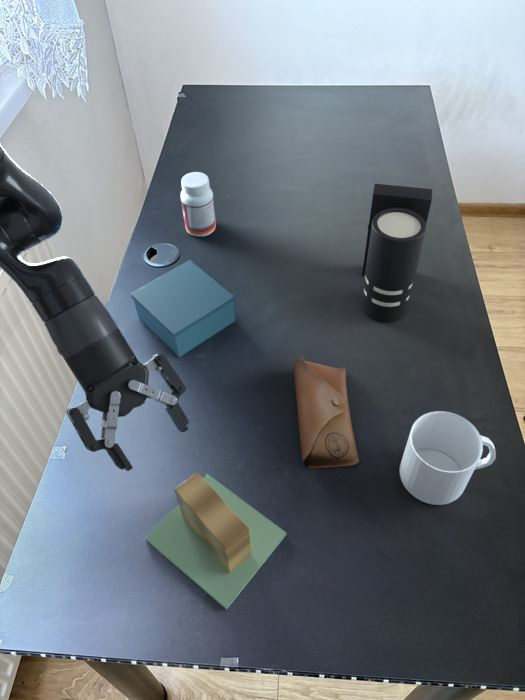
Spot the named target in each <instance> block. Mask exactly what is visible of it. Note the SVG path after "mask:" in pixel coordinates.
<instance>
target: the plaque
mask: <svg viewBox="0 0 525 700" xmlns="http://www.w3.org/2000/svg"><path fill="white" fill-rule="evenodd" d="M203 477H204V476H202V475H201V474H200V473H199V471H197V472H195V473H194V474H192V475H190V477H188V478H187V479H186V480H184V481H183V482H182V483H180V484H179V485H178V486H177V487H175V488H174V493H175V495H176V499H177V503H178V504H179V506H180V509H181V513H182V516H183V518H184V519H185V520H186V521H187V523H188V524H189V525H190V526H191V527H192V529H193V530H194V531H195V532H196V533H197V535H198V536H199V537H200V538H201V539H202V540H203V542H204V543H205V544H206V545H207V546H208V548H209V549H210V550H211V551H212V552H213V554H214V555H215V556H216V557H217V558H218V559H219V561H220V562H221V563H222V564H223V565H224V567H225V568H226V569H227V570H228V571H229V573H231V572H232V571H233V570H234V569H235V568H236V567H238V566H239V565H240V564H241V563H242V562H243V561H244V560H246V559H247V558H248V557H249V556H250V555H251V544H250V535H249V528H248V527H247V526H246V525H245V524H244V522H243V521H242V520H241V519H240V518H239V517H238V516H237V515H236V514H235V513H234V511H233V510H232V509H231V508H230V507H229V506H228V505H227V504H226V503H225V502H224V500H223V499H222V498H221V497H220V496H219V495H218V494H217V493H216V492H215V491H214V489H213V488H212V487H211V486H210V485H209V484H208V483H207V482H206V481H205V480H204V478H203Z"/></svg>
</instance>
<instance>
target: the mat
mask: <svg viewBox="0 0 525 700" xmlns="http://www.w3.org/2000/svg"><path fill="white" fill-rule="evenodd" d="M202 477H203V478H204V480H205V481H206V482H207V483H208V484H209V485H210V486H211V487H212V488H213V489H214V491H215V492H216V493H217V494H218V495H219V496H220V497H221V498H222V499H223V500H224V502H225V503H226V504H227V505H228V506H229V507H230V508H231V509H232V510H233V511H234V513H235V514H236V515H237V516H238V517H239V518H240V519H241V520H242V521H243V522H244V524H245V525H246V526H247V527H248V528H249V535H250V544H251V555H250V556H249V557H248V558H247V559H246V560H244V561H243V562H242V563H241V564H240V565H239V566H238V567H236V568H235V569H234V570H233V571H232V572H231V573H229V571H228V570H227V569H226V568H225V567H224V565H223V564H222V563H221V562H220V561H219V559H218V558H217V557H216V556H215V555H214V554H213V552H212V551H211V550H210V549H209V548H208V546H207V545H206V544H205V543H204V542H203V540H202V539H201V538H200V537H199V536H198V535H197V533H196V532H195V531H194V530H193V529H192V527H191V526H190V525H189V524H188V523H187V521H186V520H185V519H184V518H183V516H182V513H181V509H180V506H179V503H178V504H177V505H176V506H175V507H174V508H172V510H171V511H170V512H169V513H168V514H167V515H166V516H165V517H164V518H163V519H162V520H161V521H160V523H158V525H157V526H156V527H154V529H153V530H152V531H151V532H150V533H149V534H148V535H147V536H146V537H145V541H146V542H147V543H148V544H149V545H150V546H152V547H153V548H154V549H155V550H156V551H157V552H159V553H160V554H161V555H162V556H163V557H164V558H165V559H167V560H168V562H170V563H171V564H172V565H173V566H175V567H176V568H177V569H178V570H179V571H181V572H182V573H183V575H185V576H186V577H187V578H189V579H190V580H191V581H192V582H193V583H195V584H196V585H197V586H198V587H199V588H200V589H201V590H203V591H204V592H205V593H206V594H207V595H208V596H209V597H211V598H212V599H213V600H214V601H215V602H217V603H218V604H219V605H220V606H221V607H223V608H224V609H225V610H228V609H229V608H230V606H231V605H232V604H233V602H234V601H236V599H237V598H238V596H239V595H240V594H241V593H242V591H243V590H244V589H245V588H246V586H247V585H248V584H249V582H251V580H252V579H253V578H254V576H255V575H256V574H257V573H258V571H260V569H261V568H262V566H264V564H265V563H266V561H267V560H268V559H269V558H270V556H271V555H272V554H273V553H274V552H275V550H276V549H277V547H278V546H279V545H280V544H281V542H282V541H283V540H284V539H285V537H286V536H287V534H288V533H287V532H286V531H285V530H283V529H282V528H281V527H280V526H278V525H277V524H275V523H274V522H273V521H271V519H268V517H266V516H265V515H263V514H262V513H261V512H259V511H258V510H257V509H255V508H254V507H253V506H251V505H250V504H249V503H247V502H246V501H244V500H243V499H242V498H241V497H239V496H238V495H237V494H235V493H234V492H233V491H231V490H230V489H229V488H227V487H226V486H225V485H223V484H222V483H220V482H219V481H217V480H216V479H215V478H214V477H213V476H211V475H210V474H209V473H206V474H205V475H204V476H202Z"/></svg>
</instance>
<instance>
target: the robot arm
mask: <svg viewBox="0 0 525 700" xmlns="http://www.w3.org/2000/svg"><path fill="white" fill-rule="evenodd" d="M55 197H56V196H54V195H53V194H52V192H50V191H49V190H48V188H46V187H45V186H44V185H43V184H42V183H40V182H39V181H38V180H36V179H35V178H34V177H33V176H31V175H30V174H29V173H27V172H26V171H25V170H23V169H22V168H21V167H20V166H19V165H18V164H17V163H16V162H15V161H14V160H13V159H12V158H11V157H10V156H9V154H8V153H7V151H6V150H5V149H4V148H3V146H2V145H1V144H0V269H1V270H2V271H4V272H5V273H6V274H7V276H9V278H11V279H12V281H13V282H14V283H15V284H16V285H17V286H18V287H19V288H20V290H21V291H22V293H23V294H24V295H25V296H26V298H27V299H28V301H29V302H30V304H31V305H32V306H33V309H34V311H36V313H37V315H38V317H39V318H40V319H41V321H42V323H43V324H44V326H45V328H46V331H47V332H48V334H49V337H50V339H51V341H52V342H53V344H54V346H55V347H56V350H57V352H58V354H59V355H60V356H61V357H62V359H63V360H64V361H65V363H66V365H67V366H68V368H69V369H70V371H71V373H72V374H73V375H74V377H75V379H76V380H77V382H78V384H79V385H80V388H82V391H83V392H84V393H85V400H84V401H83V402H81V403H79V404H77V405H75V406H70V407H67V409H66V415H67V417H68V419H69V421H70V423H71V424H72V426H73V428H74V429H75V431H76V434H77V435H78V436H79V438H80V440H81V443H82V444H83V446H84V447H85V449H86V450H88V451H89V452H92V453H95V452H98V451H101V450H105V451H106V453H107V454H108V456H109V458H110V459H111V461H112V462H113V464H114V465H115V466H116V467H117V468H118V469H119V470H121V471H122V470H125V471H127V472H130V471H131V470H133V468H134V466H133V465H132V464H131V462H130V460H129V459H128V457H127V456H126V454H125V452H124V451H123V449H122V448H121V446H120V445H119V443H116V433H117V432H116V431H117V428H118V423H119V418H121V417H122V418H123V417H126V416H128V415H129V414H130V413H131V412H132V411H133V410H134V409H135V408H138V407H141V406H143V405H144V404H145V403H146V401H147V399H149V400H152V401H155V402H159V403H161V404H163V405H165V408H164V409H165V411H166V412H167V414H168V416H169V417H170V419H171V420H172V422H173V423H174V425H175V427H176V429H177V430H178V431H179V432H180V433H185V432H187V431H188V430H189V427H188V425H189V418H188V417H187V416H186V413H185V412H184V410H183V409H182V407H181V405H180V404H179V399H180V397H181V396H182V395H183V394H185V392H186V391H187V386H186V385H185V383H184V382H183V380H182V378H180V376H179V375H178V373H177V372H176V370H175V369H174V367H173V366H172V364H171V363H170V362H169V360H168V359H167V357H166V356H165V354H163V353H157V354H153V355H152V356H151V358H150V359H149V360H147V361H146V362H145V363H144V364H143V363H141V362H140V360H139V359H138V357H137V356H136V354H135V352H134V351H133V350H132V348H131V346H130V344H129V343H128V341H127V339H126V338H125V336H124V335H123V333H122V331H121V330H120V328H119V327H118V325H117V323H116V321H115V319H113V317H112V316H111V313H110V312H109V310H108V309H107V308H106V306H105V305H104V304H103V302H101V300H100V298H99V297H98V296H97V295H96V293H95V291H94V290H93V288H92V287H91V284H90V283H89V282H88V279H87V278H86V276H85V275H84V273H83V271H82V270H81V269H80V267H79V265H78V264H77V262H76V261H75V260H74V259H73V258H72V257H69V256H60V257H56V258H53V259H49V260H46V261H43V262H42V261H41V262H38V263H31V262H27V261H26V260H25V259H23V258H22V256H21V254H22V253H25V252H27V251H28V250H30V249H32V248H34V247H35V246H38V245H39V244H41V243H44V242H46V241H48V240H49V239H51V238H53V237H54V236H56V235H57V234H58V233H59V232H60V231H61V229H62V227H63V220H64V214H63V210H62V208H61V205H60V203H59V202H58V200H57V198H55ZM150 371H152V373H154V374H159V375H160V376H161V377H162V379H163V380H164V382H165V384H167V386H168V388H169V389H170V390H169V391H168V392H166V391H163V390H161V389H159V388H156V387H153V386H150V385H149V379H150V378H149V377H150ZM90 409H92V410H95V411H98V412H101V413H102V415H101V424H100V425H101V430H100V431H101V433H100V437H99V438H96V437H95V435H94V434H93V432H92V430H91V428H90V427H89V425H88V423H87V421H88V420H89V417H90V414H89V410H90Z"/></svg>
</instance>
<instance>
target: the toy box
mask: <svg viewBox="0 0 525 700" xmlns="http://www.w3.org/2000/svg"><path fill="white" fill-rule="evenodd" d="M235 297H236V296H235V295H233V294H232V293H231V292H230V291H229V290H227V289H226V288H225V287H224V286H222V284H221V283H219V282H218V281H216V280H215V279H214V278H213V277H211V275H209V274H208V273H206V272H205V271H204V270H203V269H201V267H199V266H198V265H197V264H195V262H193V261H192V260H190V259H188V260H187V261H185V262H184V263H182V264H180V265H178V266H176V267H175V268H173V269H170V270H169V271H167V272H166V273H164V274H162V275H161V276H158V277H157V278H155V279H153V280H152V281H150V282H148V283H147V284H145V285H143V286H141V287H139V288H138V289H136V290H134V291H133V292H130V298H132V300H133V303H134V307H135V310H136V313H137V317H138V319H139V320H140V321H141V322H142V323H143V324H144V325H145V326H146V327H147V328H148V329H149V330H150V331H151V332H152V333H153V334H154V335H155V336H156V337H157V338H158V339H159V340H160V341H161V342H162V343H163V344H164V345H166V346H167V347H168V348H169V350H171V352H173V353H174V354H175V355H176V356H177V358H181V357H182V356H184V355H185V354H187V353H188V352H190V351H192V350H193V349H195V348H196V347H198V346H200V345H201V344H203V343H204V342H205V341H206V340H209V338H212V337H213V336H215V335H216V334H218V333H219V332H221V331H222V330H224V329H225V328H227V327H228V326H231V325H232V324H233V323H236V316H235V314H236V313H235V305H234V301H235V300H236V298H235Z"/></svg>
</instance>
